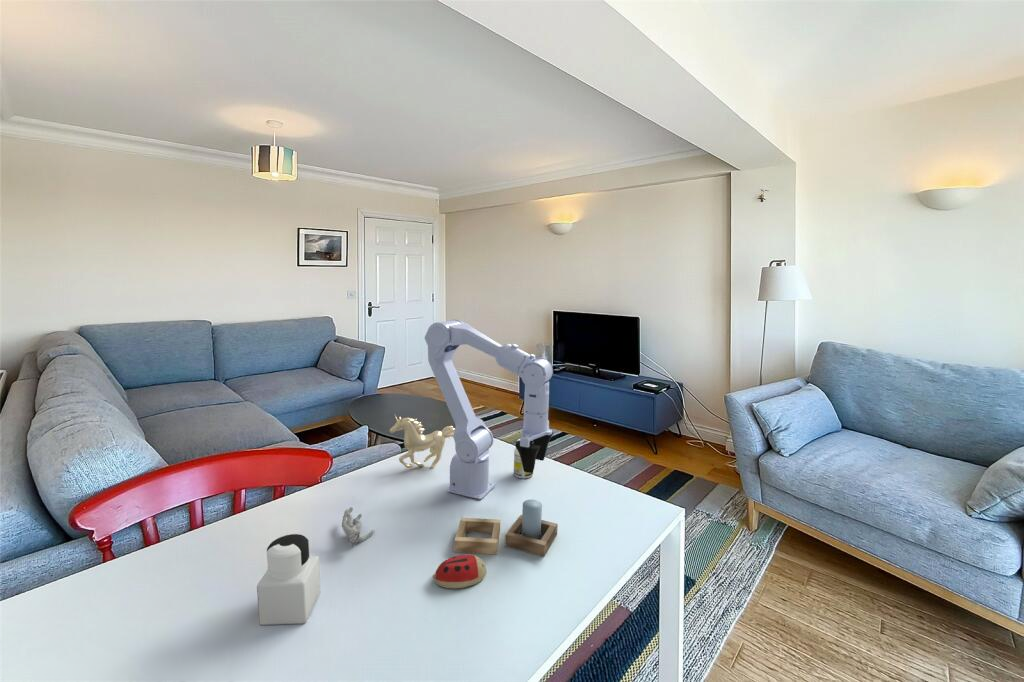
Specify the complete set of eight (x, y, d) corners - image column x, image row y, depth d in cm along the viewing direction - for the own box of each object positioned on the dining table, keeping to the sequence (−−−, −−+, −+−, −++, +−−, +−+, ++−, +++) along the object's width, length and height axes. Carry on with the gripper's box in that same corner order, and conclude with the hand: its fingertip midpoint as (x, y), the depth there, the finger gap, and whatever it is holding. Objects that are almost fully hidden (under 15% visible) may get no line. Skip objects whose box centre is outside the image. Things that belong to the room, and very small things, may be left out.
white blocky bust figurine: (278, 594, 78) (274, 529, 76) (321, 592, 79) (318, 528, 77) (258, 626, 71) (253, 555, 69) (306, 624, 72) (302, 554, 70)
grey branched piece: (372, 522, 102) (382, 533, 92) (357, 542, 100) (365, 555, 90) (345, 502, 101) (351, 510, 90) (329, 521, 99) (334, 532, 88)
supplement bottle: (533, 471, 128) (534, 437, 127) (532, 479, 123) (533, 445, 122) (514, 469, 129) (515, 436, 127) (512, 478, 124) (513, 443, 122)
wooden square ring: (504, 545, 93) (505, 534, 93) (520, 525, 101) (520, 514, 101) (544, 556, 90) (544, 545, 90) (557, 534, 98) (557, 523, 97)
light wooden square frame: (454, 551, 91) (454, 540, 90) (461, 528, 99) (461, 517, 99) (496, 554, 90) (497, 542, 90) (500, 530, 99) (500, 519, 98)
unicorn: (455, 458, 136) (455, 402, 133) (460, 463, 132) (461, 406, 130) (388, 471, 126) (387, 411, 123) (392, 477, 122) (391, 416, 120)
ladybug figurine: (491, 583, 82) (492, 565, 82) (438, 597, 79) (438, 578, 78) (479, 561, 88) (479, 544, 88) (429, 573, 85) (429, 555, 84)
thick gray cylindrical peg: (517, 541, 95) (519, 505, 94) (527, 532, 98) (528, 497, 97) (535, 547, 93) (536, 511, 92) (543, 538, 96) (545, 502, 95)
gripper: (541, 422, 98) (539, 481, 100) (561, 404, 112) (559, 457, 114) (512, 417, 101) (510, 475, 103) (534, 401, 114) (532, 452, 116)
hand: (534, 465), depth 109 cm, fingers open, 7 cm apart
